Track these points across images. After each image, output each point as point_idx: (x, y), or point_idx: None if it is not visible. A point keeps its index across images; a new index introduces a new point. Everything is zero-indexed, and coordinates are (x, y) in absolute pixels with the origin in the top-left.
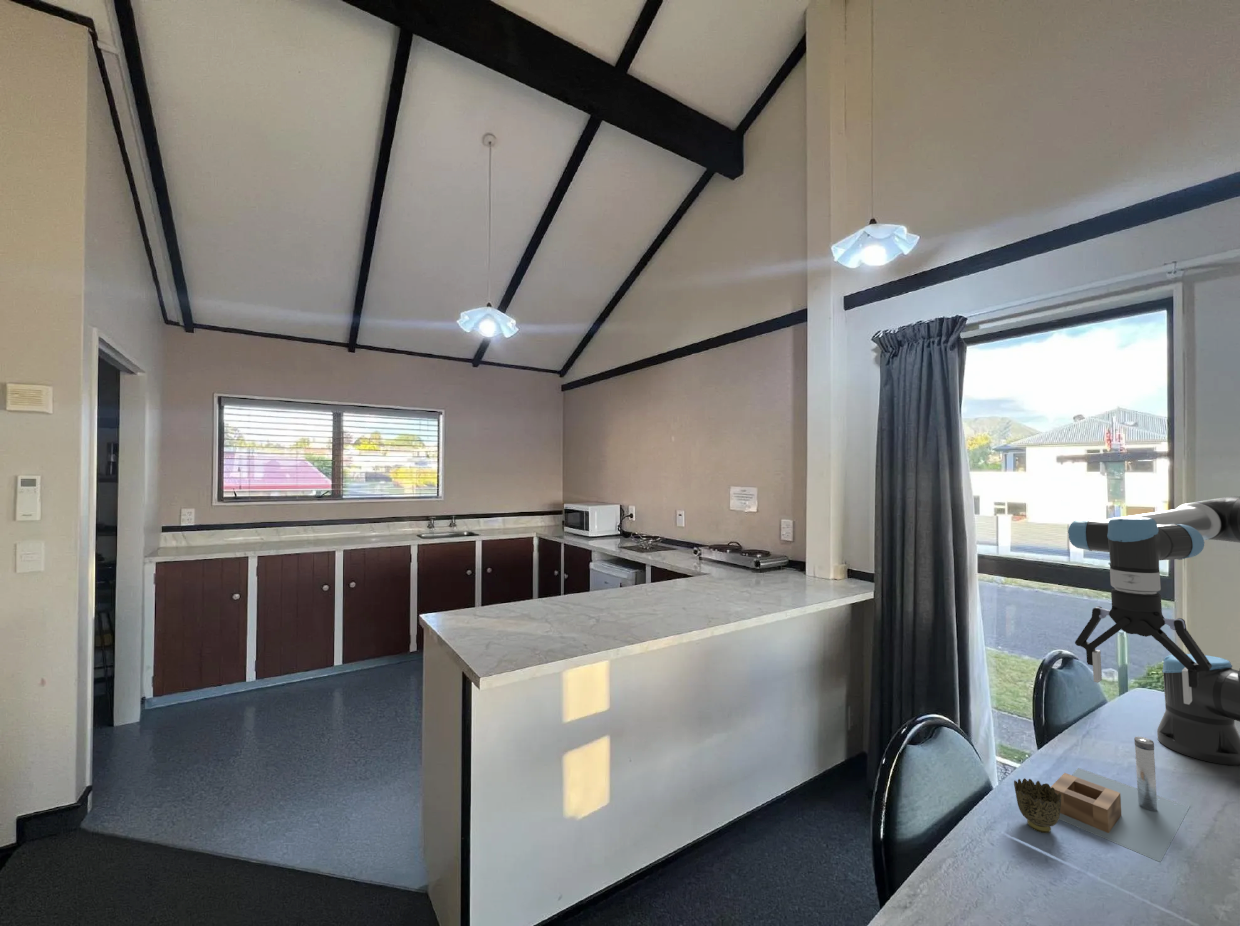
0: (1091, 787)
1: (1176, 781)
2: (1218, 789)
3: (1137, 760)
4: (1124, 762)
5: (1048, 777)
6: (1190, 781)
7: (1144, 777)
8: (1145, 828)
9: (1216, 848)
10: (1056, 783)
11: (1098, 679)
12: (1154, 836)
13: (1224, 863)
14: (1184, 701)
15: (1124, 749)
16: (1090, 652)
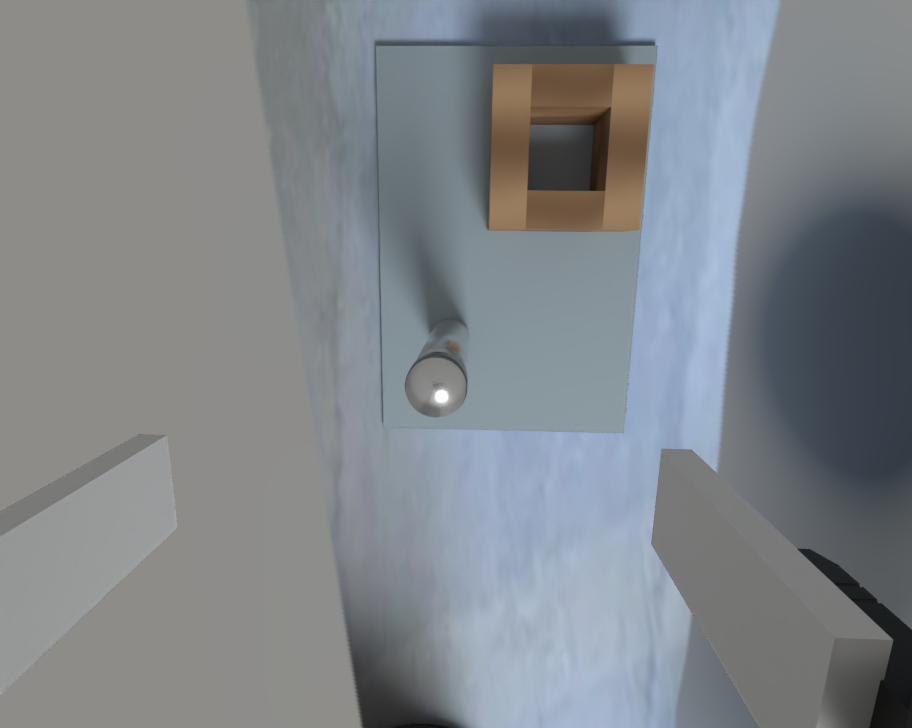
0: (557, 191)
1: (431, 558)
2: (359, 587)
3: (460, 348)
4: (540, 574)
5: (676, 308)
6: (409, 584)
7: (444, 333)
8: (432, 205)
9: (310, 259)
10: (644, 119)
11: (669, 470)
12: (410, 179)
13: (286, 196)
14: (155, 442)
15: (555, 656)
16: (898, 660)
